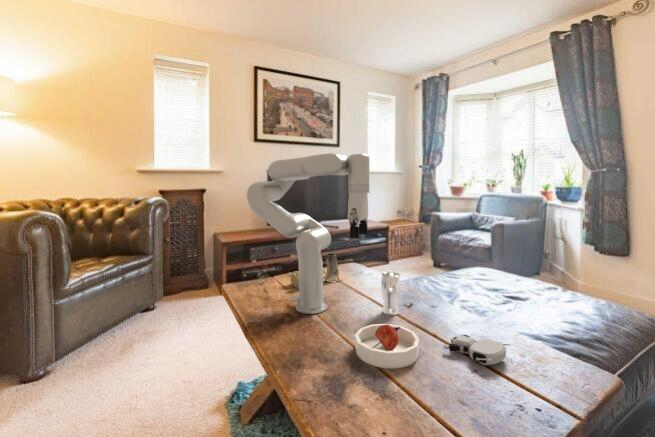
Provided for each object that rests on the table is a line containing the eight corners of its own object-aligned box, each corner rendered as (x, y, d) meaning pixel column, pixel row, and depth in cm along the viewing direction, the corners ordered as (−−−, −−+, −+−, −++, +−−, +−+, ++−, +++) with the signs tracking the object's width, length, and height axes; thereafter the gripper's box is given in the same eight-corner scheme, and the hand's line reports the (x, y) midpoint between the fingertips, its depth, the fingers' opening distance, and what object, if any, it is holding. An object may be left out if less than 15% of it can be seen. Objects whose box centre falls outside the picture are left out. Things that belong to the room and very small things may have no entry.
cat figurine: (295, 278, 152) (288, 266, 162) (289, 291, 153) (283, 278, 164) (310, 281, 156) (303, 268, 166) (305, 294, 157) (298, 280, 167)
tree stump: (326, 283, 164) (326, 257, 162) (319, 278, 173) (319, 253, 172) (344, 281, 167) (344, 255, 166) (337, 276, 176) (337, 252, 175)
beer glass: (399, 316, 122) (400, 277, 121) (380, 315, 124) (381, 276, 122) (399, 309, 129) (400, 272, 128) (381, 308, 130) (381, 271, 129)
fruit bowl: (347, 360, 92) (346, 344, 92) (366, 333, 109) (366, 320, 108) (412, 374, 85) (412, 358, 84) (422, 343, 101) (422, 329, 101)
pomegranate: (379, 362, 93) (408, 343, 91) (363, 341, 94) (392, 321, 92) (380, 352, 100) (407, 334, 99) (365, 332, 101) (392, 314, 100)
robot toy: (440, 356, 96) (494, 375, 84) (440, 341, 95) (493, 357, 84) (461, 343, 104) (513, 358, 92) (461, 328, 103) (512, 342, 92)
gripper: (356, 188, 128) (356, 232, 129) (340, 189, 112) (340, 239, 114) (375, 188, 125) (375, 233, 126) (361, 189, 109) (361, 240, 111)
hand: (358, 235), depth 120 cm, fingers open, 9 cm apart
